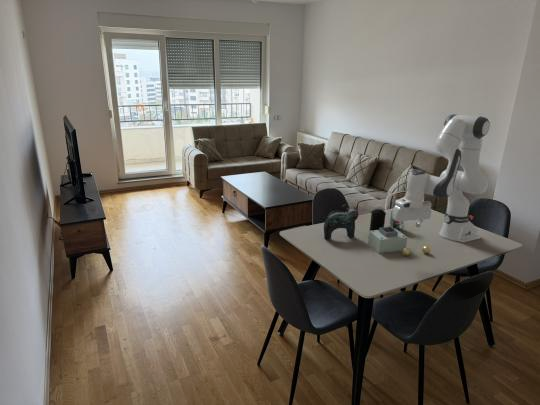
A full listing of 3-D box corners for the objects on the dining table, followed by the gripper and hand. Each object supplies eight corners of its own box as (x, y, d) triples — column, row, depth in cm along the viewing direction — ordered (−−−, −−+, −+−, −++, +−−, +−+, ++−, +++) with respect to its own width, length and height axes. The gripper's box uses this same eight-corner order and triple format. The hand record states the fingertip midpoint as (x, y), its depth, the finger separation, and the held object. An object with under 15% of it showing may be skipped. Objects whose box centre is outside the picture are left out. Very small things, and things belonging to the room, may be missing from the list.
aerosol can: (383, 242, 213) (387, 208, 206) (368, 240, 214) (372, 207, 208) (382, 236, 220) (386, 204, 214) (367, 234, 222) (371, 202, 215)
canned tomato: (393, 225, 236) (395, 209, 233) (404, 229, 231) (407, 212, 227) (386, 228, 231) (388, 212, 227) (398, 232, 226) (400, 215, 222)
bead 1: (406, 253, 200) (407, 246, 198) (411, 256, 196) (412, 249, 195) (400, 254, 199) (401, 247, 197) (404, 257, 195) (405, 250, 194)
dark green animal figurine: (353, 234, 223) (356, 202, 216) (358, 238, 217) (361, 205, 210) (321, 236, 218) (324, 204, 212) (326, 241, 212) (328, 208, 206)
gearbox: (393, 241, 214) (395, 224, 210) (405, 250, 203) (408, 232, 199) (367, 243, 210) (369, 226, 207) (378, 253, 199) (380, 235, 196)
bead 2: (426, 251, 202) (427, 244, 201) (431, 254, 199) (432, 247, 197) (420, 252, 202) (421, 245, 200) (424, 255, 198) (425, 248, 197)
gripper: (428, 198, 193) (423, 223, 197) (392, 200, 188) (388, 226, 193) (435, 202, 187) (431, 228, 192) (399, 205, 182) (395, 231, 187)
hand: (409, 227), depth 192 cm, fingers open, 8 cm apart
